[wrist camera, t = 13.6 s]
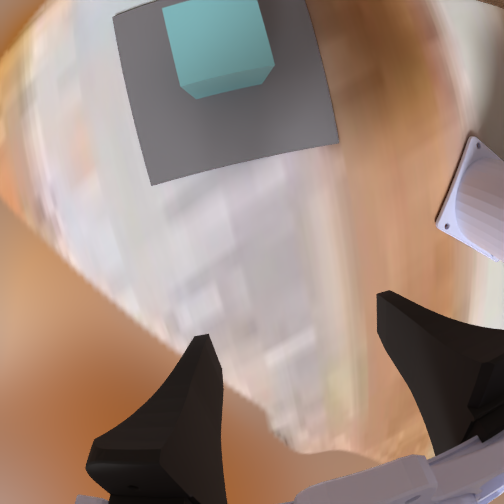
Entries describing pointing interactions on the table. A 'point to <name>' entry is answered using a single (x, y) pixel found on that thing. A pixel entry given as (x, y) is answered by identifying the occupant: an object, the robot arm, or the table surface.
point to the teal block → (218, 45)
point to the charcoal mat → (224, 96)
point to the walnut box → (494, 2)
